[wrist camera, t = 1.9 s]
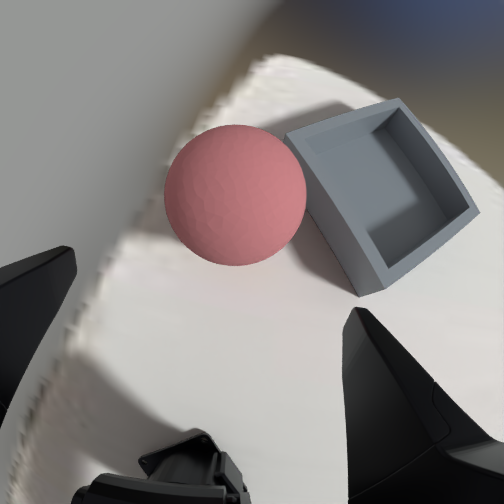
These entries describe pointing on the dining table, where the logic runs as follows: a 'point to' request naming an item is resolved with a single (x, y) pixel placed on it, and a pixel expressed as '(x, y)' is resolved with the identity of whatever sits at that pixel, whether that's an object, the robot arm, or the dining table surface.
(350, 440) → the robot arm
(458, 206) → the blue-gray bin
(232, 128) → the light bulb
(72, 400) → the dining table surface
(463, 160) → the dining table surface
